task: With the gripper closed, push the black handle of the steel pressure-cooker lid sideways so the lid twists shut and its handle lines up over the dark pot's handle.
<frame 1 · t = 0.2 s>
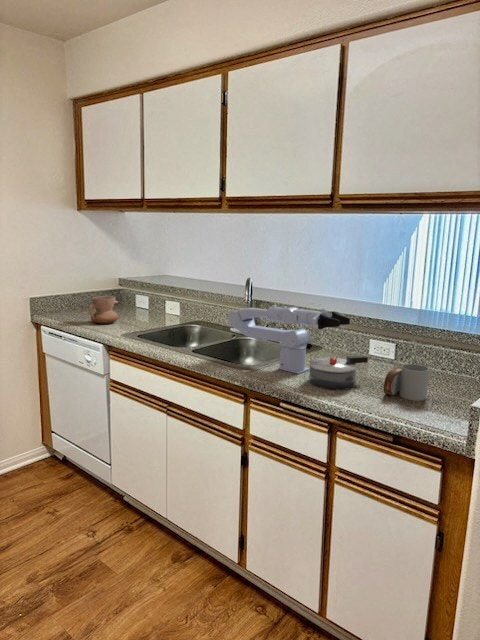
hand: (344, 322, 172), 22 cm above the worktop, tool horizontal, fingers open, 7 cm apart
ceramic jug: (103, 323, 266), on the worktop
tin: (395, 392, 166), on the worktop
lid: (339, 361, 174), point 8 cm above the worktop, hinge at 35.0°
cooker pot: (331, 382, 174), on the worktop
cup: (412, 396, 162), on the worktop
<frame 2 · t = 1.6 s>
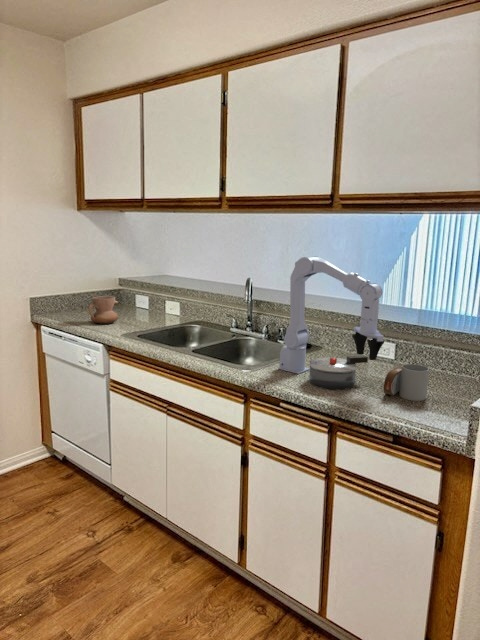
hand: (366, 356, 170), 10 cm above the worktop, tool pointing down, fingers open, 7 cm apart
nothing on the worktop moved.
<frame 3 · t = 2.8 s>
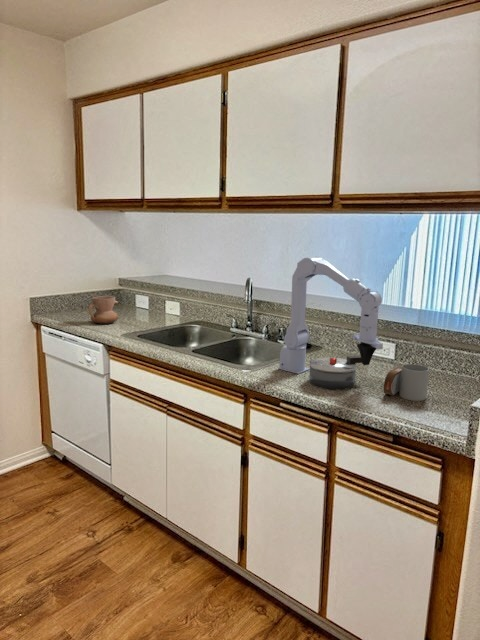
hand: (365, 364, 171), 8 cm above the worktop, tool pointing down, fingers closed
nothing on the worktop moved.
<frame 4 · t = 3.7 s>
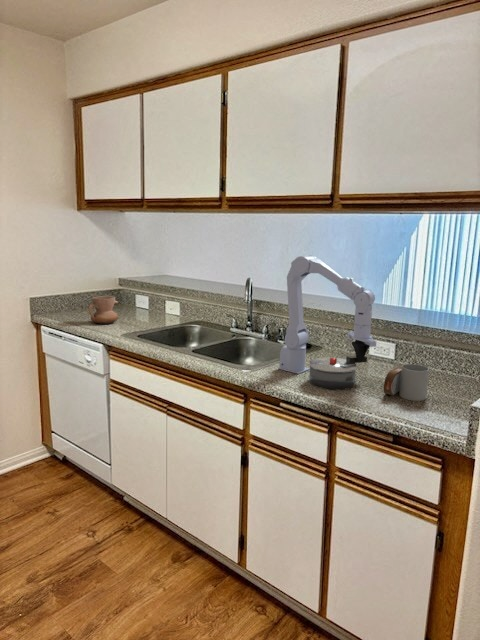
hand: (359, 361, 174), 8 cm above the worktop, tool pointing down, fingers closed
lid: (339, 361, 174), point 8 cm above the worktop, hinge at 33.0°, touching gripper
everything else where it was.
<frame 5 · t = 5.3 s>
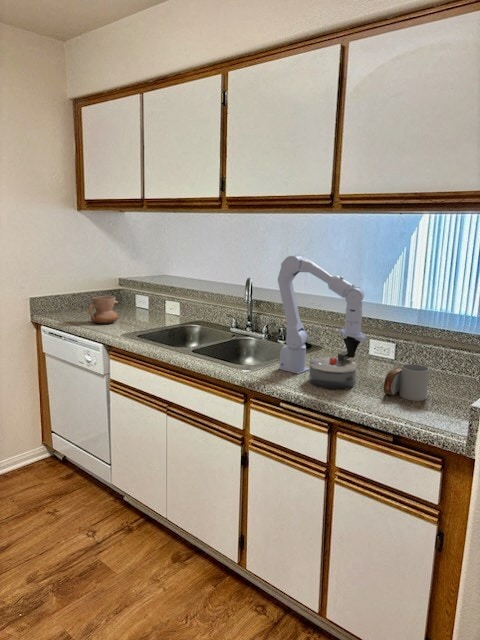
hand: (351, 357, 179), 8 cm above the worktop, tool pointing down, fingers closed, pressing on lid
lid: (336, 360, 175), point 8 cm above the worktop, hinge at -1.1°, touching gripper
everything else where it was.
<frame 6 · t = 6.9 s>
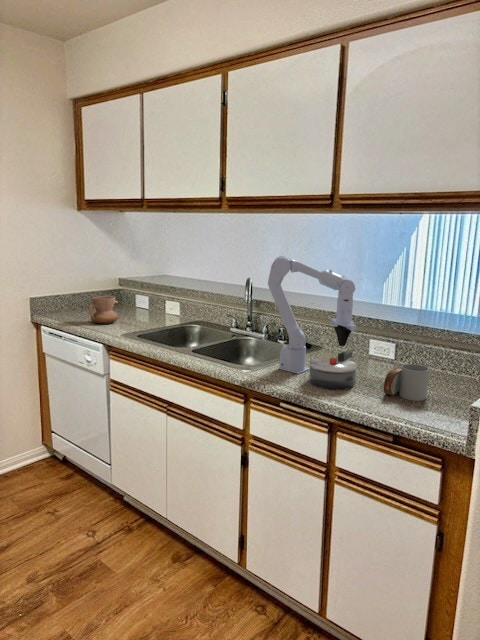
hand: (342, 345, 185), 10 cm above the worktop, tool pointing down, fingers closed
lid: (336, 360, 175), point 8 cm above the worktop, hinge at -1.0°
everything else where it was.
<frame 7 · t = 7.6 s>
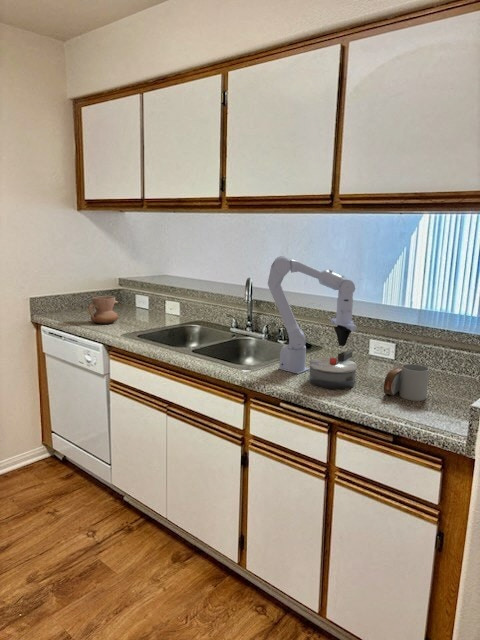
hand: (342, 345, 185), 10 cm above the worktop, tool pointing down, fingers closed
nothing on the worktop moved.
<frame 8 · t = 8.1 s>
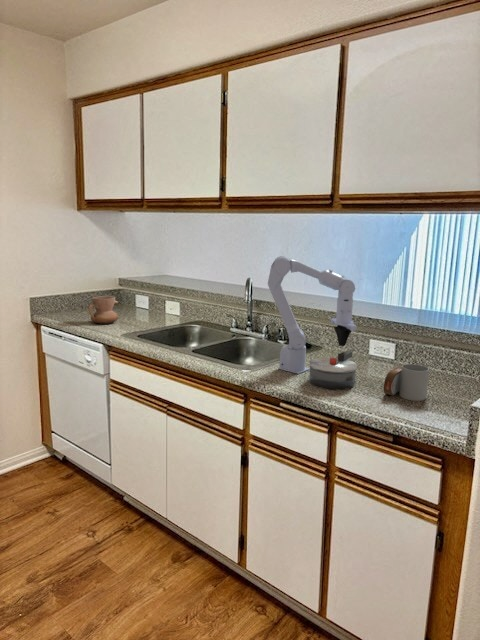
hand: (342, 345, 185), 10 cm above the worktop, tool pointing down, fingers closed
nothing on the worktop moved.
at the end: lid at -1° (first picture: +35°) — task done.
